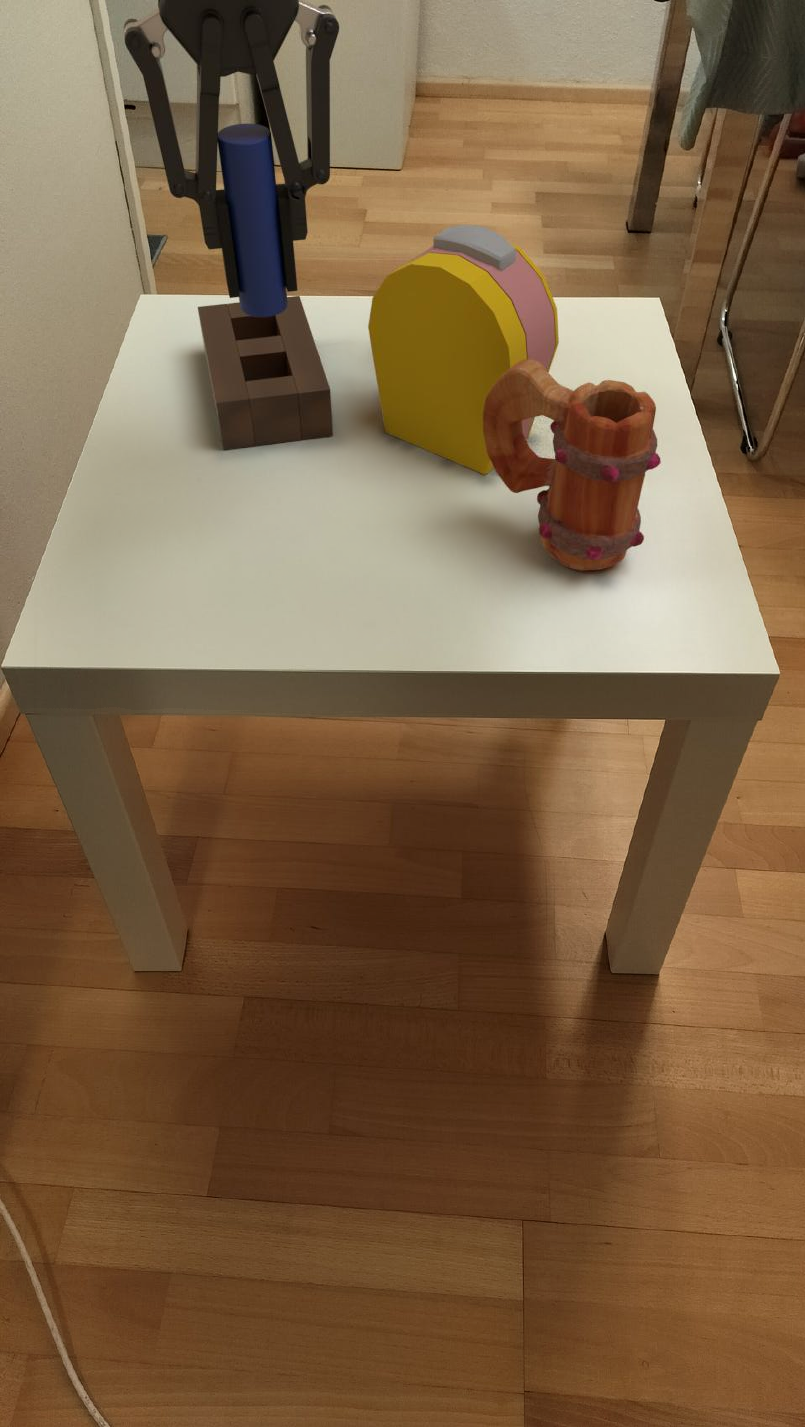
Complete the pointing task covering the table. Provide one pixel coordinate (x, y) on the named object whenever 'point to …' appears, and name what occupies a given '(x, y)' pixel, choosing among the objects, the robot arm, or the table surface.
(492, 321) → the alarm clock
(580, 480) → the mug
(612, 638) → the table surface
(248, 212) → the blue long cylinder
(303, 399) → the holder
